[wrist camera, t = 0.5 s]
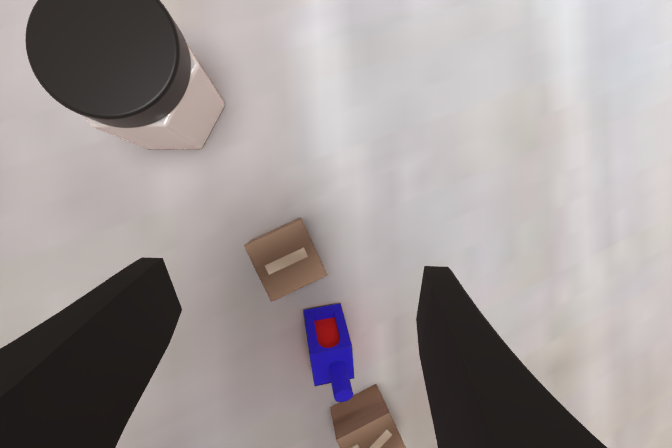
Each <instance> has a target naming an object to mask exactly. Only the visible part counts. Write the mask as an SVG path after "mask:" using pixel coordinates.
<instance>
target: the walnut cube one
mask: <svg viewBox="0 0 672 448" xmlns="http://www.w3.org/2000/svg"><path fill="white" fill-rule="evenodd" d="M244 247H245V249H246V251H247V253H248V255H249V257H250V259H251V261H252V263H253V265H254V267H255V269H256V272H257V274H258V276H259V278H260V280H261V282H262V284H263V286H264V288H265V290H266V292H267V294H268V296H269V298H270V301H271V302H272V301H274V300H276V299H278V298H280V297H283V296H285V295H287V294H289V293H291V292H293V291H295V290H297V289H299V288H302V287H304V286H306V285H308V284H310V283H312V282H314V281H316V280H318V279H320V278H323V277H325V276H327V273H326V271H325V269H324V267H323V264H322V262H321V260H320V258H319V256H318V254H317V251H316V249H315V247H314V245H313V243H312V241H311V238H310V236H309V234H308V232H307V230H306V228H305V225H304V223H303V221H302V219H301V218H299V219H296V220H294V221H292V222H290V223H288V224H285V225H283V226H281V227H279V228H277V229H274V230H272V231H270V232H268V233H266V234H263V235H261V236H259V237H257V238H255V239H252V240H251V241H249V242H248V243H247V244H246V245H245V246H244Z"/></svg>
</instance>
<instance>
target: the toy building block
mask: <svg viewBox="0 0 672 448" xmlns="http://www.w3.org/2000/svg"><path fill="white" fill-rule="evenodd" d="M303 312H304V319H305V326H306V333H307V341H308V348H309V355H310V361H311V367H312V373H313V379H314V385H315V386H318V385H323V384H328V383H332V389H333V394H334V399H335V400H336V401H337V402H346V401H348V400H350V399H351V398H352V397H353V392H352V388H351V383H350V379H352V378H354V367H353V353H352V344H351V341H350V337H349V333H348V330H347V326H346V322H345V318H344V315H343V311H342V307H341V304H340V303H339V304H333V305H328V306H322V307H317V308H311V309H305V310H303Z"/></svg>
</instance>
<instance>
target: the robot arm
mask: <svg viewBox="0 0 672 448" xmlns="http://www.w3.org/2000/svg"><path fill="white" fill-rule="evenodd" d="M181 311H182V308H181V305H180V303H179V300H178V297H177V295H176V292H175V290H174V287H173V284H172V282H171V279H170V276H169V274H168V271H167V268H166V266H165V263H164V260H163V258H140V259H139V260H137V261H135V262H134V263H132V264H130V265H129V266H127V267H126V268H124V269H123V270H121V271H120V272H118V273H117V274H115V275H114V276H112V277H111V278H109V279H108V280H106V281H105V282H103V283H102V284H100V285H99V286H98V287H96V288H95V289H93V290H92V291H90V292H89V293H87V294H86V295H84V296H83V297H81V298H80V299H78V300H77V301H75V302H74V303H72V304H71V305H69V306H68V307H66V308H65V309H63V310H62V311H60V312H59V313H57V314H56V315H54V316H52V317H51V318H49V319H48V320H46V321H44V322H43V323H41V324H40V325H38V326H37V327H35V328H33V329H32V330H30V331H29V332H27V333H25V334H24V335H22V336H21V337H19V338H18V339H16V340H14V341H13V342H11V343H9V344H8V345H6V346H4V347H3V348H1V349H0V448H115V447H116V445H117V443H118V440H119V438H120V436H121V434H122V432H123V430H124V428H125V426H126V424H127V422H128V420H129V418H130V416H131V414H132V412H133V411H134V409H135V407H136V405H137V403H138V401H139V399H140V398H141V396H142V394H143V392H144V390H145V388H146V386H147V385H148V383H149V381H150V379H151V377H152V375H153V373H154V372H155V370H156V368H157V366H158V364H159V362H160V360H161V358H162V356H163V355H164V353H165V351H166V349H167V347H168V345H169V343H170V340H171V338H172V335H173V333H174V330H175V328H176V325H177V322H178V319H179V316H180V314H181ZM416 321H417V333H418V344H419V355H420V360H421V365H422V370H423V375H424V380H425V385H426V390H427V395H428V400H429V405H430V409H431V414H432V419H433V424H434V429H435V434H436V439H437V445H438V448H607V447H606V446H605V445H604V444H603V443H601V442H600V441H599V440H598V439H597V438H596V437H595V436H593V435H592V434H591V433H590V432H589V431H588V430H587V429H586V428H585V427H584V426H583V425H582V424H581V423H580V422H579V421H578V420H577V419H576V418H575V417H574V416H573V415H571V414H570V413H569V412H568V411H567V410H566V409H565V408H564V407H563V406H562V405H561V404H560V403H559V402H558V401H557V400H556V399H555V398H554V397H553V396H552V395H551V393H550V392H549V391H548V390H547V389H546V388H545V387H544V386H543V385H542V384H541V383H540V382H539V381H538V380H537V379H536V378H535V377H534V375H533V374H532V373H531V372H530V371H529V370H528V369H527V368H526V367H525V366H524V364H523V363H522V362H521V361H520V360H519V359H518V357H517V356H516V355H515V354H514V353H513V352H512V351H511V349H510V348H509V347H508V346H507V345H506V343H505V342H504V341H503V340H502V339H501V337H500V336H499V335H498V334H497V332H496V331H495V330H494V329H493V327H492V326H491V325H490V323H489V322H488V321H487V320H486V318H485V317H484V316H483V314H482V313H481V312H480V311H479V309H478V308H477V306H476V305H475V304H474V302H473V301H472V300H471V298H470V297H469V295H468V294H467V293H466V291H465V290H464V288H463V287H462V285H461V284H460V283H459V281H458V280H457V278H456V277H455V275H454V274H453V272H452V271H451V270H450V269H449V267H434V266H424V273H423V279H422V286H421V292H420V298H419V305H418V311H417V318H416Z"/></svg>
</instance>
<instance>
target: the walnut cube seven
mask: <svg viewBox="0 0 672 448" xmlns="http://www.w3.org/2000/svg"><path fill="white" fill-rule="evenodd" d="M330 409H331V414H332V419H333V425H334V430H335V435H336V440H337V442H338V444H339V447H340V448H406V447H405V445H404V443H403V441H402V439H401V436H400V434H399V432H398V430H397V428H396V426H395V423H394V421H393V419H392V417H391V415H390V413H389V410H388V408H387V406H386V404H385V402H384V400H383V398H382V395H381V393H380V391H379V389H378V387H377V385H376V384H375V385H373V386H371V387H369V388H367V389H365V390H363V391H361V392H360V393H358V394H356V395H354V396H353V397H352V398H351V399H350V400H348V401H346V402H340V403H338V404H336V405H334V406H332V407H330Z"/></svg>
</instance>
